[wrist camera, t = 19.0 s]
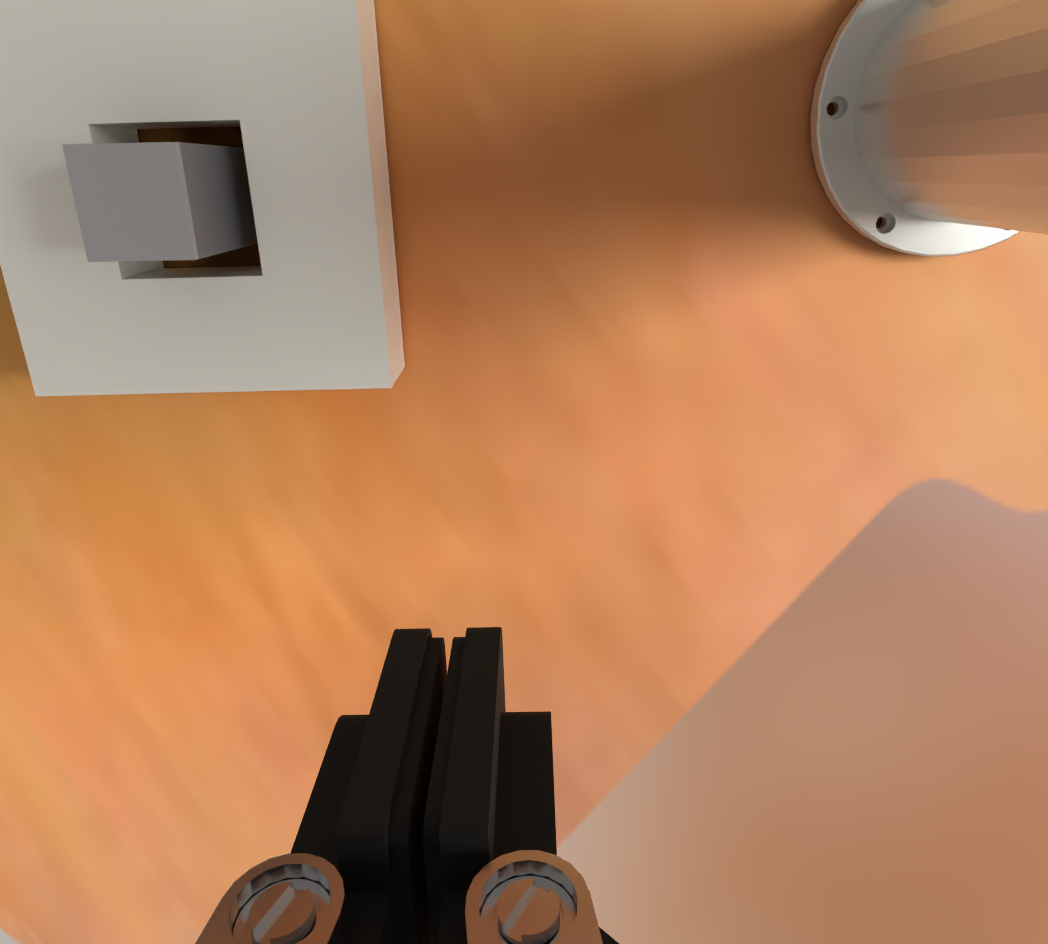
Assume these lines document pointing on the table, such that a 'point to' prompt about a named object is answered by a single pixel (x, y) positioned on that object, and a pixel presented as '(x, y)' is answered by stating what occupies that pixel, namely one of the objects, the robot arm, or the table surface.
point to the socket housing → (274, 179)
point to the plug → (160, 200)
